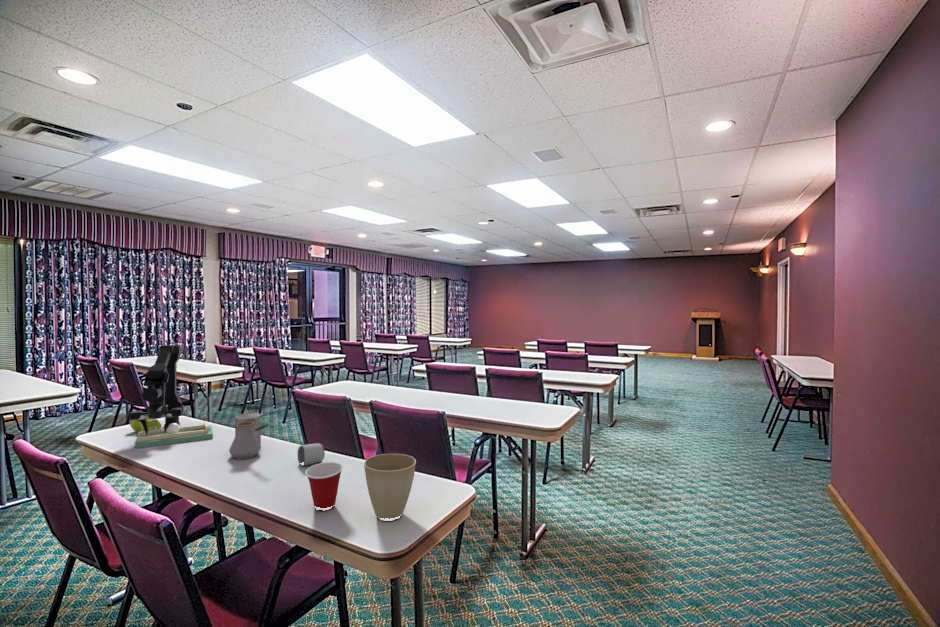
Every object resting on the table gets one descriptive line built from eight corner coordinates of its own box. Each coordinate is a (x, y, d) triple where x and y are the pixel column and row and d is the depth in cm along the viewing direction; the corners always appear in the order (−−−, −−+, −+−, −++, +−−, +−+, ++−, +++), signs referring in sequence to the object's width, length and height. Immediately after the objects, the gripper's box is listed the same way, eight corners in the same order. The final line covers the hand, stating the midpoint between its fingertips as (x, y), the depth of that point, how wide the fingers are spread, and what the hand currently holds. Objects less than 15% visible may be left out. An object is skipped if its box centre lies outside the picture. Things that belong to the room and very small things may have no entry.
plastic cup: (296, 510, 134) (297, 470, 134) (324, 497, 143) (324, 459, 143) (323, 519, 129) (323, 477, 129) (350, 504, 138) (350, 465, 138)
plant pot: (402, 531, 122) (403, 473, 122) (353, 524, 126) (354, 467, 126) (423, 508, 137) (423, 455, 136) (378, 501, 141) (379, 450, 140)
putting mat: (138, 438, 202) (138, 427, 202) (211, 429, 217) (211, 419, 217) (135, 448, 188) (135, 436, 188) (212, 438, 203) (212, 427, 203)
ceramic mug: (325, 463, 173) (325, 443, 173) (305, 468, 168) (305, 448, 168) (313, 457, 181) (313, 437, 181) (293, 461, 175) (293, 441, 175)
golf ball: (164, 430, 202) (170, 420, 203) (177, 433, 205) (182, 423, 205) (164, 434, 198) (169, 423, 199) (176, 437, 201) (182, 427, 201)
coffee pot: (223, 457, 179) (223, 419, 179) (250, 449, 189) (250, 413, 188) (254, 468, 168) (254, 428, 167) (282, 459, 177) (282, 421, 177)
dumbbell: (162, 434, 208) (162, 418, 208) (142, 438, 202) (142, 422, 202) (148, 428, 218) (148, 413, 218) (129, 431, 211) (128, 416, 211)
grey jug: (240, 444, 195) (240, 409, 195) (264, 443, 196) (264, 409, 196) (231, 451, 186) (230, 415, 185) (256, 451, 187) (255, 415, 186)
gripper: (127, 402, 187) (127, 440, 186) (181, 398, 196) (180, 434, 196) (131, 398, 196) (130, 434, 196) (182, 394, 206) (181, 429, 206)
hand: (156, 433), depth 198 cm, fingers open, 6 cm apart
